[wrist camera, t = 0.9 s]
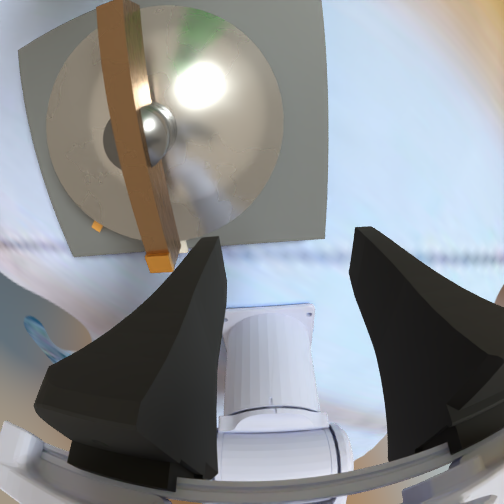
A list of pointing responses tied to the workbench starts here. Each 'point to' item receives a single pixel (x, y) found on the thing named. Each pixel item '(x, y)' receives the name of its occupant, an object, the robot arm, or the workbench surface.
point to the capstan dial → (164, 125)
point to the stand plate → (294, 124)
